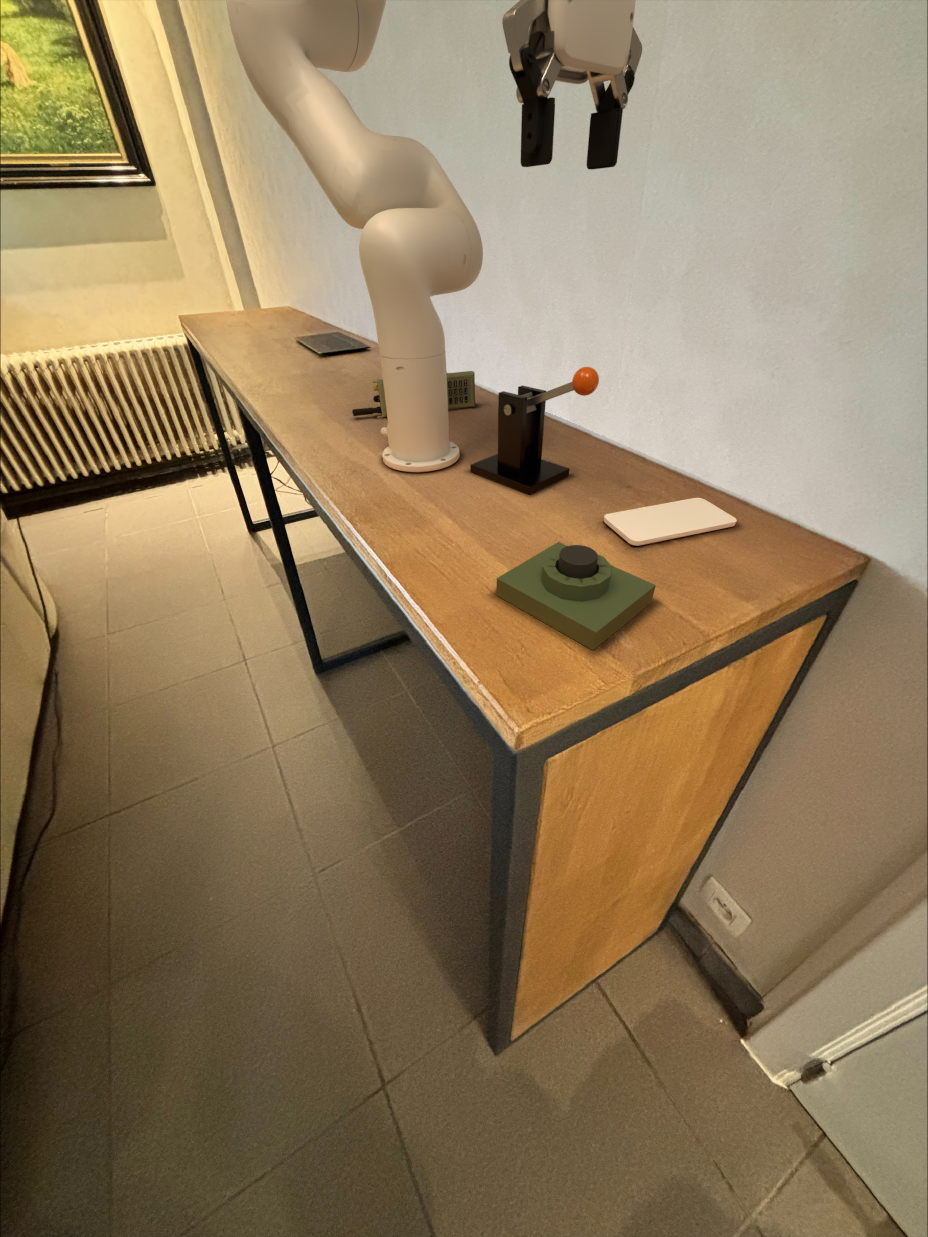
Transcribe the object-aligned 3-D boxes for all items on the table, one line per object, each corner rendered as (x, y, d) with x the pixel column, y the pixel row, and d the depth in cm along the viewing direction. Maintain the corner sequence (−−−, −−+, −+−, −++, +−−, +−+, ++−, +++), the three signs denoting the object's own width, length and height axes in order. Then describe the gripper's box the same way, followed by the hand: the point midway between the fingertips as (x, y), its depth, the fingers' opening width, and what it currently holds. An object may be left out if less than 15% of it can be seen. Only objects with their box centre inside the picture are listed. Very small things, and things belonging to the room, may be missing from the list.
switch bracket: (569, 476, 74) (578, 392, 67) (529, 495, 70) (534, 407, 62) (509, 455, 81) (512, 377, 74) (470, 472, 77) (468, 390, 69)
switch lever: (606, 388, 61) (600, 360, 60) (591, 393, 59) (585, 365, 58) (525, 416, 72) (519, 393, 71) (510, 422, 70) (504, 398, 69)
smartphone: (740, 521, 61) (634, 542, 57) (738, 526, 61) (633, 548, 58) (700, 496, 66) (601, 514, 63) (698, 501, 67) (600, 520, 63)
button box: (496, 595, 52) (496, 562, 49) (556, 558, 57) (559, 527, 54) (592, 650, 45) (599, 616, 42) (651, 602, 50) (660, 569, 47)
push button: (550, 569, 49) (551, 554, 47) (572, 555, 50) (574, 540, 49) (580, 584, 46) (583, 569, 45) (602, 569, 48) (605, 554, 47)
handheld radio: (476, 408, 102) (354, 422, 97) (471, 404, 105) (352, 417, 100) (475, 372, 98) (348, 385, 93) (470, 369, 101) (346, 381, 96)
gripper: (616, -96, 43) (592, 172, 53) (469, -171, 34) (475, 168, 44) (700, -136, 38) (655, 165, 49) (557, -235, 29) (540, 159, 40)
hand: (570, 166), depth 47 cm, fingers open, 9 cm apart
